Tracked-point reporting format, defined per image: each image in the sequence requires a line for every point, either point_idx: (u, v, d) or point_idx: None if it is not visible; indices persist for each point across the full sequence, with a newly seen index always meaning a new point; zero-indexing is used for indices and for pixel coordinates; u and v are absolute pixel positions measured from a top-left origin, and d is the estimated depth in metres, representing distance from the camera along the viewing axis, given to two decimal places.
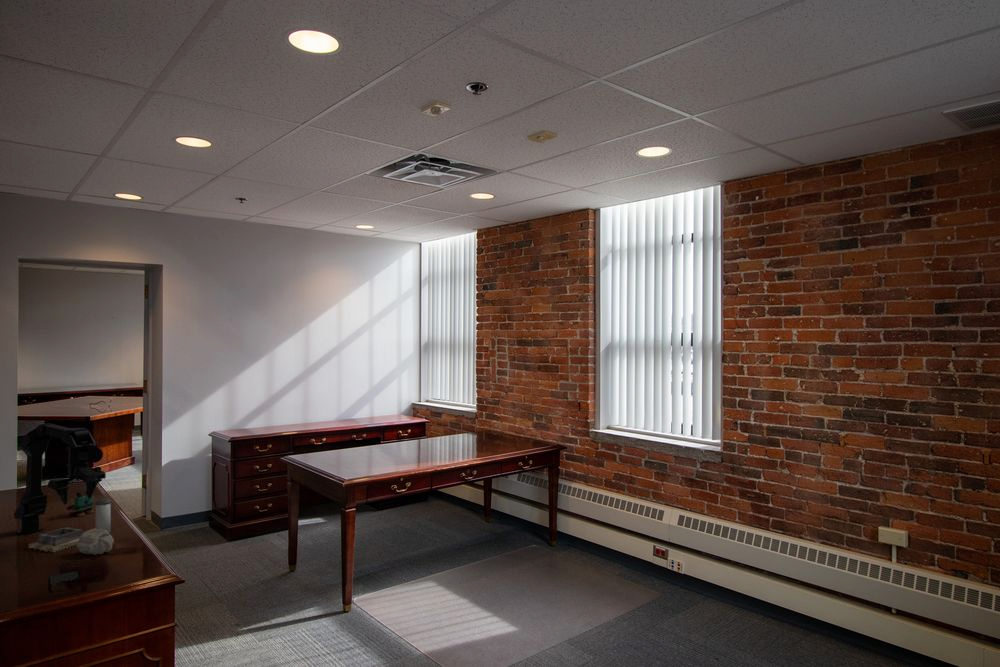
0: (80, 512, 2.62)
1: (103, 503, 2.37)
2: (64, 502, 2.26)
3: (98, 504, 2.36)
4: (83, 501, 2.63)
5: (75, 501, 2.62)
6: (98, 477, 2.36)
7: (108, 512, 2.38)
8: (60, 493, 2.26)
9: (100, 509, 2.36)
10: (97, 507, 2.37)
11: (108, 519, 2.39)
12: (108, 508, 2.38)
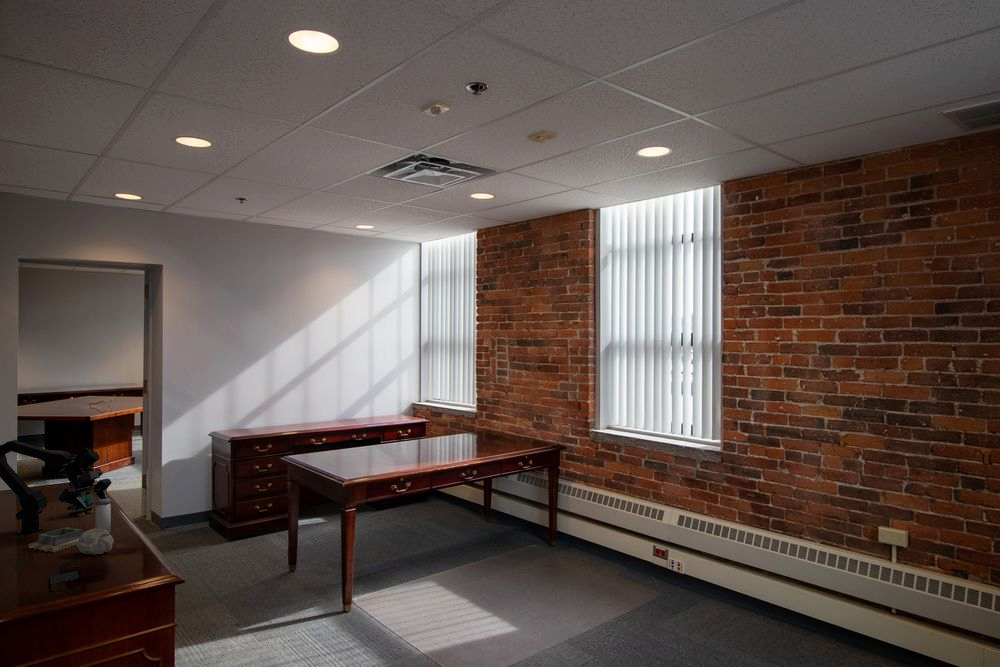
0: (80, 512, 2.62)
1: (103, 503, 2.37)
2: (83, 507, 2.36)
3: (98, 504, 2.36)
4: (83, 501, 2.63)
5: None
6: (104, 481, 2.47)
7: (108, 512, 2.38)
8: (75, 502, 2.36)
9: (100, 509, 2.36)
10: (97, 507, 2.37)
11: (108, 519, 2.39)
12: (108, 508, 2.38)
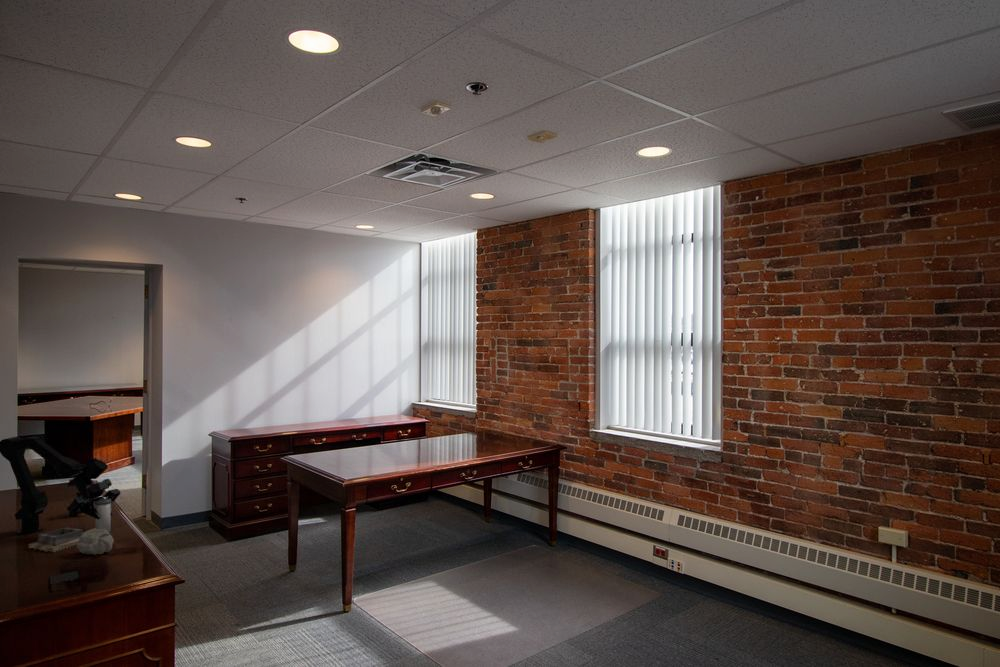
0: None
1: (103, 503, 2.37)
2: (97, 516, 2.36)
3: (98, 504, 2.36)
4: None
5: None
6: (113, 492, 2.45)
7: (108, 512, 2.38)
8: (89, 512, 2.36)
9: (100, 509, 2.36)
10: (97, 507, 2.37)
11: (108, 519, 2.39)
12: (108, 508, 2.38)
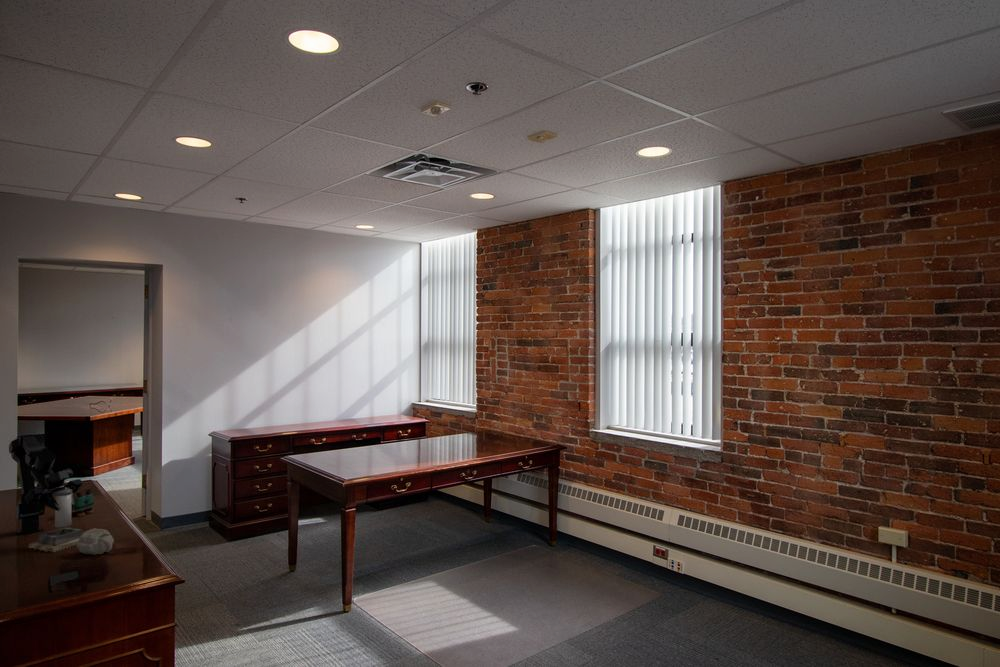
0: (80, 512, 2.62)
1: (63, 494, 2.24)
2: (56, 508, 2.23)
3: (57, 494, 2.24)
4: (83, 501, 2.63)
5: (75, 501, 2.62)
6: (74, 482, 2.33)
7: (69, 503, 2.26)
8: (48, 503, 2.23)
9: (60, 500, 2.24)
10: (57, 498, 2.24)
11: (69, 511, 2.26)
12: (69, 499, 2.26)
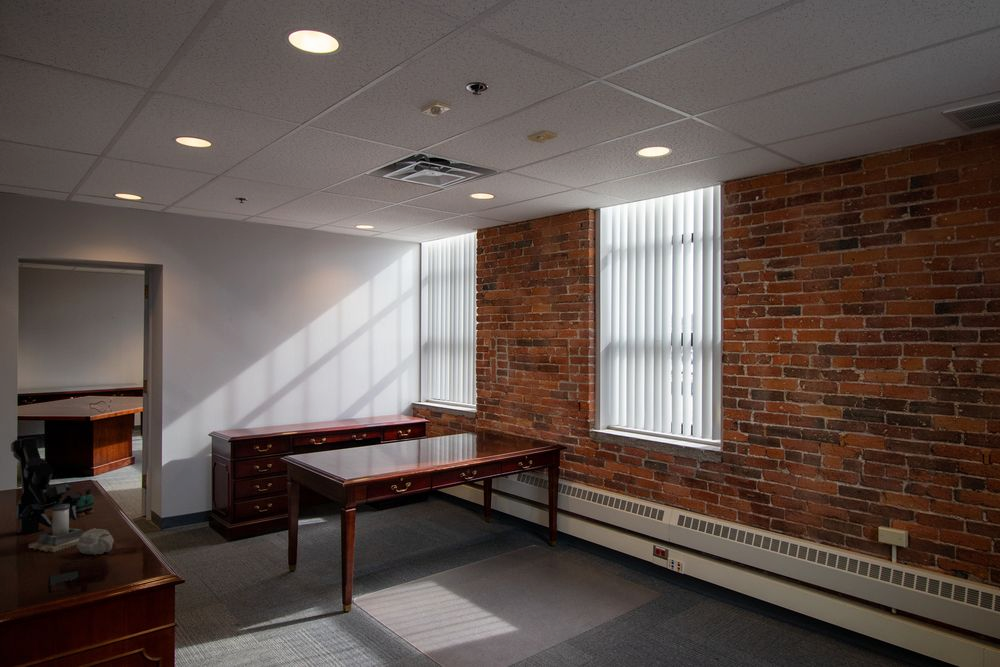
0: (80, 512, 2.62)
1: (60, 509, 2.24)
2: (48, 524, 2.21)
3: (55, 510, 2.23)
4: (83, 501, 2.63)
5: None
6: (72, 497, 2.32)
7: (66, 518, 2.25)
8: (40, 519, 2.21)
9: (57, 515, 2.23)
10: (54, 513, 2.23)
11: (66, 526, 2.25)
12: (66, 514, 2.25)
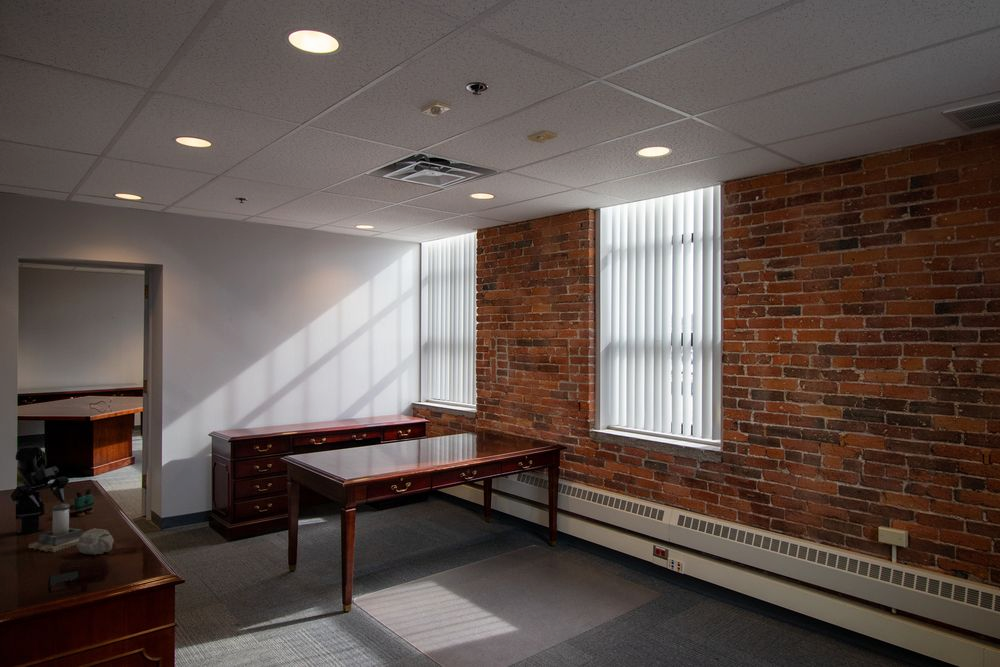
0: (80, 512, 2.62)
1: (60, 509, 2.24)
2: (36, 506, 2.26)
3: (55, 509, 2.23)
4: (83, 501, 2.63)
5: (75, 501, 2.62)
6: (60, 480, 2.38)
7: (66, 518, 2.25)
8: (28, 501, 2.26)
9: (57, 515, 2.23)
10: (54, 513, 2.23)
11: (66, 525, 2.25)
12: (66, 514, 2.25)
